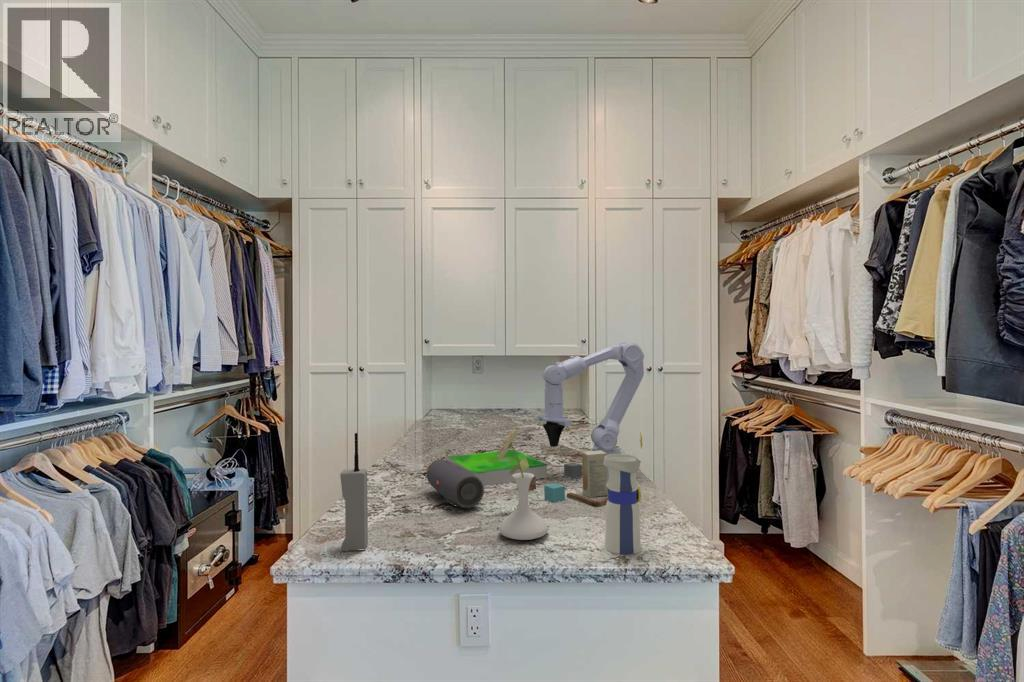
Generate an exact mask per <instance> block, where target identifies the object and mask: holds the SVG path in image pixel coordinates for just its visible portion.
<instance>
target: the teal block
mask: <svg viewBox="0 0 1024 682" xmlns="http://www.w3.org/2000/svg"><path fill="white" fill-rule="evenodd" d="M543 486H544V493H543V495H544V500H545V499H546V500H545V501H547V500H548V502H550V501H551V502H550V503H552V502H553V503H552V504H555V503H554V502H556V503H559V502H558V501H560V502H563V500H564V501H566V489H565V488H566V486H565V485H562V484H559V483H556V482H555V483H549V484H545V485H543Z"/></svg>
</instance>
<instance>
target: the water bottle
mask: <svg viewBox="0 0 1024 682" xmlns="http://www.w3.org/2000/svg"><path fill="white" fill-rule="evenodd" d="M639 442H640V449H642V448H643V436H642V433H641V432H639ZM641 461H642V460H640V459H638V457H637V456H635V455H634V454H629V453H622V454H610V455H606V456H605V457H604V461H603V465H604V466H606V467H608V471H609V480H608V482H607V483H606V486H607V488H608V495H607V498H608V501H607V504H605V529H604V530H605V531H604V532H605V533H604V548H605V550H606V551H607V552H610V553H613V554H618V555H634V554H637V553H639V552H641V551H642V541H641V520H640V519H641V518H640V515H641V514H640V504H639V503H640V502H641V500H642V492H641V488H640V487H641V486H640V485H639V483H638V481H637V480H638V479H637V476H640V475H639V469H640V466H641V465H640V464H641V463H642V462H641Z"/></svg>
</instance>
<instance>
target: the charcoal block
mask: <svg viewBox="0 0 1024 682" xmlns="http://www.w3.org/2000/svg"><path fill="white" fill-rule="evenodd" d="M563 473H564V474H563V477H565V476H567V477H566V478H569V477H570V478H569V479H572V478H574V479H577V478H576V477H578V478H581V477H580V476H582V477H583V472H582V464H581V463H577V462H573V461H572V462H568V463H564V464H563Z"/></svg>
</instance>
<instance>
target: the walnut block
mask: <svg viewBox="0 0 1024 682" xmlns="http://www.w3.org/2000/svg"><path fill="white" fill-rule="evenodd" d="M534 489H536V490H537V480H536V477H535V476H534V477H533V478H532V480H531V482H530V485H529V490H533V491H535V490H534Z"/></svg>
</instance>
